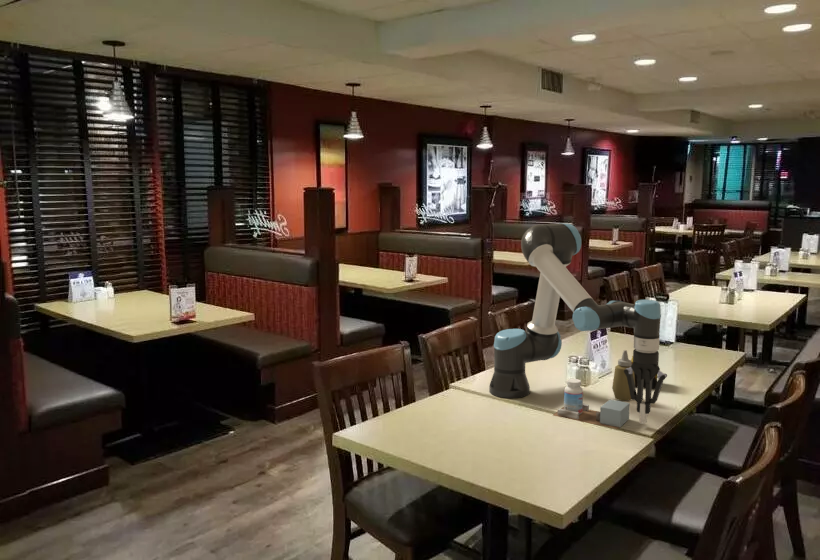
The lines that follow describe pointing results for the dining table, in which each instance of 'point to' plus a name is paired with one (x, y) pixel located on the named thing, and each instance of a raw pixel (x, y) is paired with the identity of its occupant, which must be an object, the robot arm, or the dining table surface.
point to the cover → (614, 413)
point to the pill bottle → (573, 396)
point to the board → (583, 416)
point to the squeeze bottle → (622, 379)
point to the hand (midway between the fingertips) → (643, 422)
